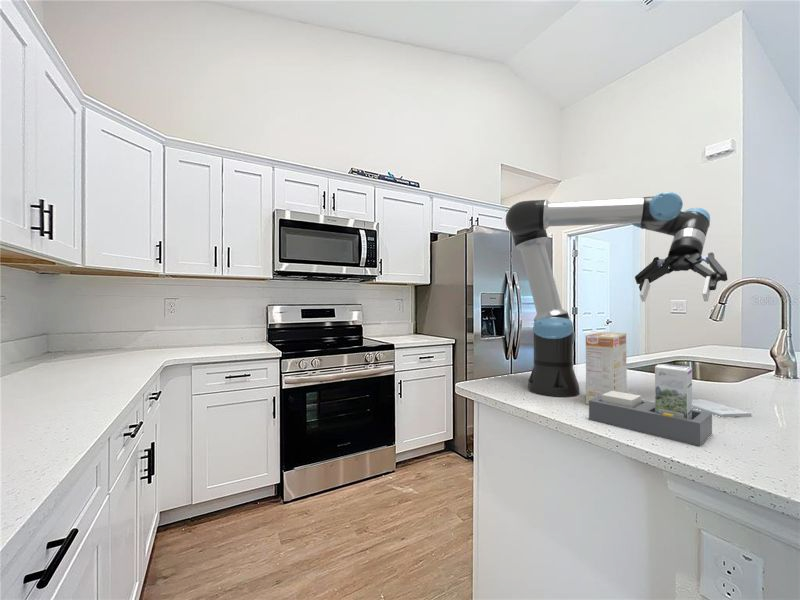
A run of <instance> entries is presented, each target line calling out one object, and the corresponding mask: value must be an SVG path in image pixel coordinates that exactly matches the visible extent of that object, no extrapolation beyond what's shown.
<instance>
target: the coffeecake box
mask: <svg viewBox="0 0 800 600" xmlns="http://www.w3.org/2000/svg"><path fill="white" fill-rule="evenodd" d="M584 336H585V405H586V404H587V406H589V400H592V399H594V398H597V397H599V396H602V394H605V393H608V392H610V391H617V392H622V393H628V391H627V390H628V388H627V387H628V382H627V381H628V380H627V377H628V375H627V374H628V373H627V372H628V371H627V366H628V365H627V333H624V332H623V333H622V332H611V331H610V332H609V331H601V332H596V333H591V334H586V335H584Z"/></svg>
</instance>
